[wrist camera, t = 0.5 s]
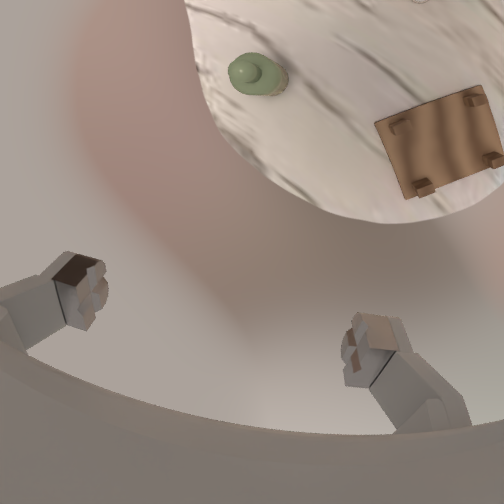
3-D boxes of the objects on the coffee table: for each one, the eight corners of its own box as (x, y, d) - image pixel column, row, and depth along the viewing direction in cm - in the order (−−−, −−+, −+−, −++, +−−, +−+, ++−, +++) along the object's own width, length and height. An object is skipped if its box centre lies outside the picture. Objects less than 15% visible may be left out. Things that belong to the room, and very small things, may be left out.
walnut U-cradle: (478, 85, 34) (491, 85, 29) (502, 159, 38) (515, 166, 33) (373, 123, 43) (378, 125, 39) (404, 198, 48) (410, 208, 43)
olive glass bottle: (277, 56, 42) (248, 37, 28) (295, 86, 44) (274, 78, 30) (246, 73, 45) (206, 63, 30) (263, 102, 47) (230, 103, 32)
